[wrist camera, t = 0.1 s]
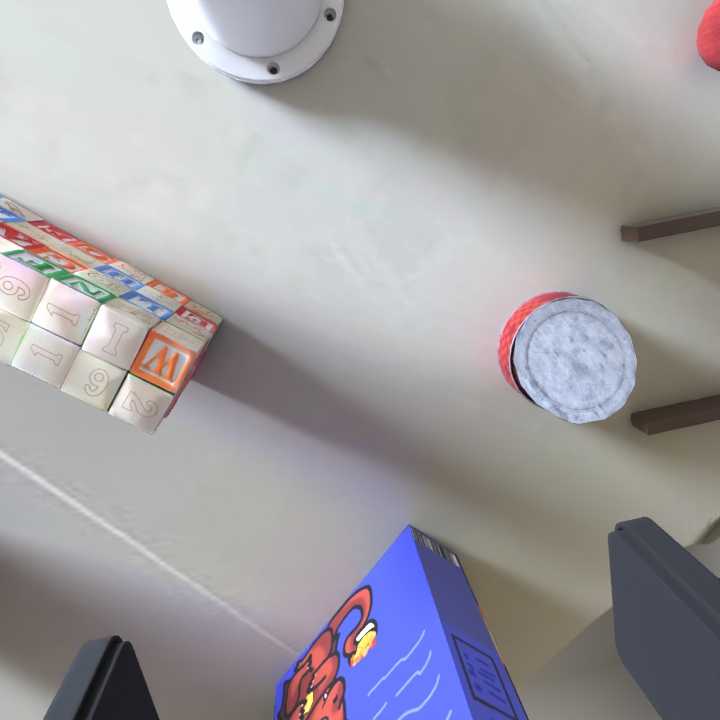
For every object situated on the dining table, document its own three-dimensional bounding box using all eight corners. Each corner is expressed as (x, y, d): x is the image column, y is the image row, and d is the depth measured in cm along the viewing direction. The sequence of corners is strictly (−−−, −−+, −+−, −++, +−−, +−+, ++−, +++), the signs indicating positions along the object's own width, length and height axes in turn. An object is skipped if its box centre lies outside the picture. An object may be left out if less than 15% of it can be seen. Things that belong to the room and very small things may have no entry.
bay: (620, 226, 46) (638, 227, 44) (790, 192, 47) (816, 190, 45) (631, 425, 51) (647, 435, 49) (785, 391, 52) (808, 400, 49)
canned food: (481, 356, 53) (463, 361, 44) (552, 272, 50) (550, 258, 41) (576, 436, 50) (580, 459, 41) (657, 352, 48) (680, 356, 38)
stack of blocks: (-66, 249, 42) (-214, 262, 30) (-34, 175, 41) (-174, 158, 29) (191, 381, 46) (152, 438, 34) (226, 317, 45) (198, 354, 33)
